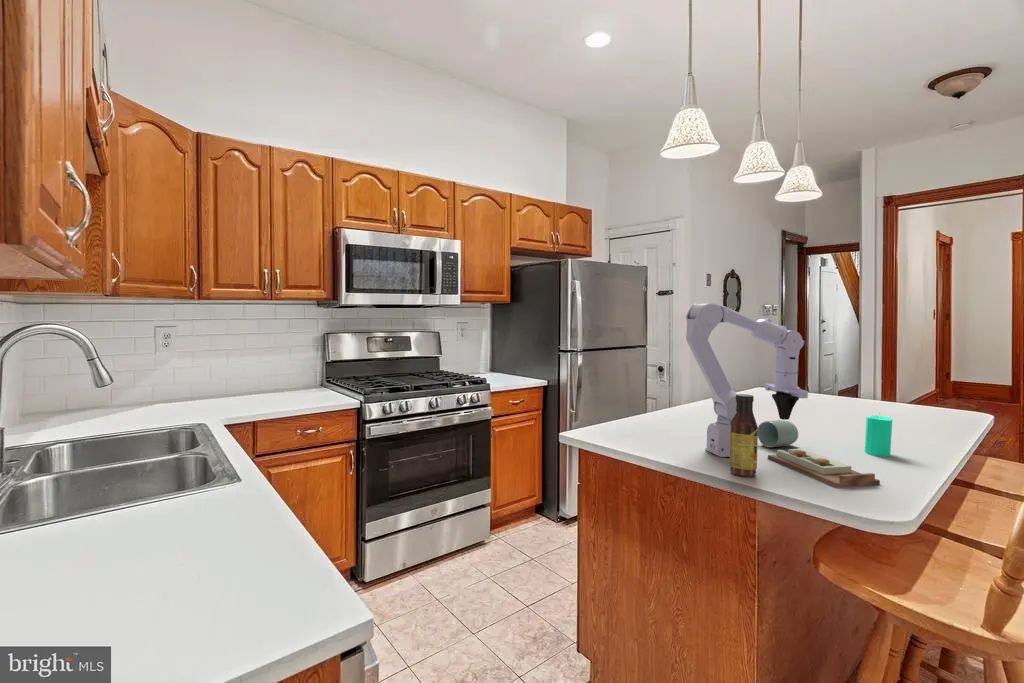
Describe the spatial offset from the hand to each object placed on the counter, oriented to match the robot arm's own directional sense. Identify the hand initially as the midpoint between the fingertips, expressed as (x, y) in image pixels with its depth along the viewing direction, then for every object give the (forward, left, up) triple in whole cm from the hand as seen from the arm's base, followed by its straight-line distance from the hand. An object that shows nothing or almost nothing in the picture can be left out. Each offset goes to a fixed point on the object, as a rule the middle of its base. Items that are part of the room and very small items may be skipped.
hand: (784, 419), depth 145 cm
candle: (+26, -5, -10) cm, 29 cm away
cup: (+9, +8, -6) cm, 13 cm away
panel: (-3, -13, -9) cm, 16 cm away
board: (-3, -16, -10) cm, 19 cm away
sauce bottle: (-24, -14, -10) cm, 29 cm away
